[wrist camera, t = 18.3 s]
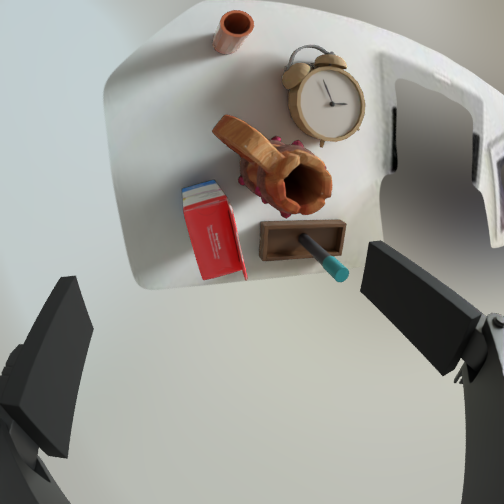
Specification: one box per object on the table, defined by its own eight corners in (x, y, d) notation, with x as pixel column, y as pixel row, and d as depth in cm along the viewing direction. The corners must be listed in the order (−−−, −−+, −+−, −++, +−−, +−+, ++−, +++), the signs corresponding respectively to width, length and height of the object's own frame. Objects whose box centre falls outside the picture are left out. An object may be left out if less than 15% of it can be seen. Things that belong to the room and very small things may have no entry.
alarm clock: (315, 156, 38) (276, 55, 29) (299, 148, 42) (262, 58, 33) (374, 127, 38) (346, 35, 29) (355, 122, 42) (327, 38, 33)
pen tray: (258, 255, 45) (262, 261, 43) (260, 221, 43) (264, 225, 41) (335, 250, 48) (341, 255, 46) (340, 219, 46) (346, 223, 44)
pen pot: (208, 49, 31) (215, 30, 24) (218, 28, 30) (227, 6, 23) (234, 57, 32) (247, 41, 25) (243, 36, 31) (258, 16, 24)
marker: (295, 242, 45) (332, 280, 34) (300, 231, 45) (339, 266, 33) (305, 245, 46) (344, 283, 35) (310, 234, 45) (351, 269, 34)
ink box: (180, 188, 38) (181, 218, 25) (215, 178, 39) (234, 203, 26) (196, 243, 42) (205, 296, 29) (228, 234, 43) (251, 283, 30)
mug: (304, 166, 41) (361, 185, 28) (270, 208, 43) (313, 246, 29) (228, 101, 35) (256, 84, 22) (190, 147, 36) (196, 155, 23)
